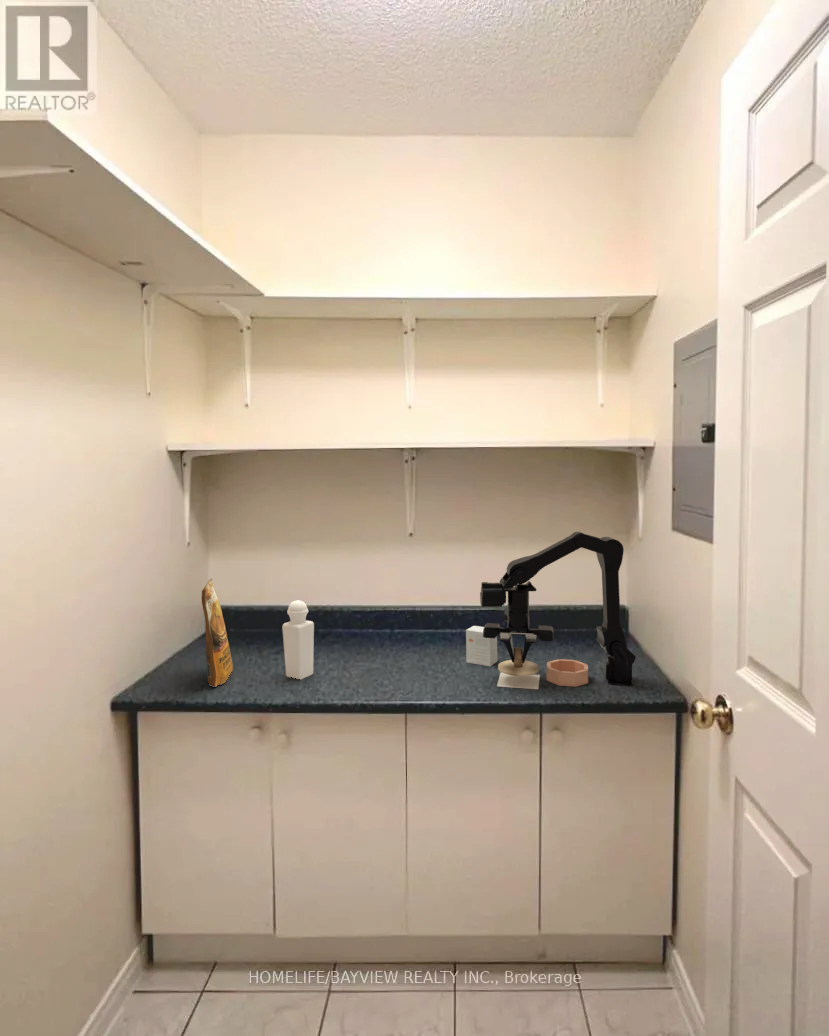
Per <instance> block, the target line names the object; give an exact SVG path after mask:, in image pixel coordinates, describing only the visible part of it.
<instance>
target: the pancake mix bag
mask: <svg viewBox="0 0 829 1036" xmlns="http://www.w3.org/2000/svg"><path fill="white" fill-rule="evenodd" d="M201 605H202V610H203V615H204V622H205V623H204V624H205V625H204V626H205V628H204V629H205V630H204V631H205V656H206V657H205V658H206V659H205V660H206V676H207V684H208V683H209V684H210V685H212V686H214V687H216V686H217V685H219V684H222V683H225V682H226V680H227V679H228V680H229V678H230V676H231V675H232V673H233V671H234V668H233V667H234V666H233V665H234V664H233V660H232V655H231V648H230V644H229V640H228V634H227V630H226V624H225V620H224V617H223V610H222V607H221V603H220V602H219V599H218V596H217V593H216V591H215V587H214V584H213V579H212V578H210V579H209V580H208V581H207V583H206V585H204V587H203V589H202V590H201ZM231 672H232V673H231ZM230 674H231V675H230ZM229 675H230V676H229ZM228 677H229V678H228ZM228 680H227V681H228ZM226 683H227V682H226ZM226 683H225V684H226Z"/></svg>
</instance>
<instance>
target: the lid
mask: <svg viewBox="0 0 829 1036" xmlns="http://www.w3.org/2000/svg"><path fill="white" fill-rule="evenodd" d="M513 650H514V663H513V662H512V660H511V659H509V660H504V661H500V662H499V663H498V665H497V666H498V667H497V669H498V671H499V672H500V673H501V672H502V673H504V674H508V675H513V676H528V675H537V673H538V672H539V669H540V668H539V665H538V664H537V663H535V662H533V661H529V660H525V662H524V663H523V661H522V658H523V651H524V647H519V646H517V647H513Z"/></svg>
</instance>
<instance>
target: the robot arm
mask: <svg viewBox="0 0 829 1036" xmlns="http://www.w3.org/2000/svg"><path fill="white" fill-rule="evenodd" d="M581 548H582V549H585V550H588V551H591V552H594V553H596V558H597V561H598V564H599V566H600V569H601V585H602V588H601V589H602V611H603V612H602V613H603V617H602V618H603V621H602V624H601V626H598V625H596V632H597V637H596V641H597V642H598V643H599V645H600V647H601V648H602V649H603V650H604V651H605V652H606V655H608V656H607V660H606V662H605V663H604V666H605V667H604V677H605V680H607V683H608V684H610V685H622V686H633V685H634V682H633V664H634V662H635V661H636V659H637V658H636V655H635V654H634V653H633V652H632V651H630V650H629V648H628V644H627V640H626V635H625V632H624V629H623V627H622V623H621V604H620V603H621V602H620V574H619V573H620V569H621V565H622V563H623V558H624V557H623V556H624V552H625V550H624V546H623V543H621V542H620V541H619V540H618V539H615V538H612V537H610V536H603V537H596V536H593V535H590V534H585V533H583V532H581V531H574V532H573V533H572V534H570V535H568V536H566V537H564V538H563V539H560V540H559V541H557V542H555V543H554V544H551V545H550V546H547V547H545V548H544V549H542V550H540V551H539V552H536V553H534V554H531V555H525V556H522V557H520V558H517V559H513V560H511V561H510V562H508V564H507V567H506V572H505V573H504V575H503V576H502V577H501V578H500V580H499V582H488V581H482V582H481V586H480V592H479V601H480V608H502V607H503V606H505V604H506V603H507V609H504V615H503V616H504V617H503V621H504V622H507V627H501V626H500V623H495V622H494V623H493V622H487V623H486V624H484V626H483V627H484V629H483V637H484V638H495V637H496V636H497V637H498V635H499V636H500V638H499V642H501V643H503V644H504V646H505V647H506V649H507V652H508V654H509V657H510V660H512V662H513V663H514V644H513V636H525V638H524V645H523V658H522V661H523V663H524V662H525V661H526V658H527V655H528V652H529V650H530V648H531V646H532V644H536V643H537V638H538V639H539V640H540V641H541V642H553V641H554V627H553V626H552V625H540V624H539V625H538V628H530V625H531V624H530V623H531V622H530V618H531V617H530V592H536V591H537V588H536V587H535V586H534V585H533V584H532V582H531V581H530V580H531V579H532V578H534V577H535V576H536V575H537V574H538V573H539V572H540V571H541V570H542V569H544V568H545V567H547V566H548V565H549V566H550V565H551V564H553V563H554V562H556V561H559V560H560V559H562V558H563V557H566V556H568V555H570V554H572V553H573V552H575V551H577V550H579V549H581Z"/></svg>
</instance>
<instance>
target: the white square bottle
mask: <svg viewBox="0 0 829 1036" xmlns="http://www.w3.org/2000/svg"><path fill="white" fill-rule="evenodd" d="M286 613H287V615H288V616H289V620H290V621H288V622H284V623H283V624H282V627H281V628H282V639H283V651H284V652H283V653H284V665H285V677H286V678H291V677H292V678H291V679H295V678H296V679H297V680H299V679H300V681H301V680H303V679H305V678H308V677H310V676H312V675H313V674H314V647H315V646H314V641H315V640H314V639H315V638H314V637H315V636H314V635H315V623H314V622H313V621H312V620H307V615H308V613H309V609H308V606H307V604H306V603H305V602H304V601H303V600H299V599H298V600H293V601H291V602H290V604H289V605H288V607H287V612H286ZM296 679H295V680H296Z"/></svg>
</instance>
